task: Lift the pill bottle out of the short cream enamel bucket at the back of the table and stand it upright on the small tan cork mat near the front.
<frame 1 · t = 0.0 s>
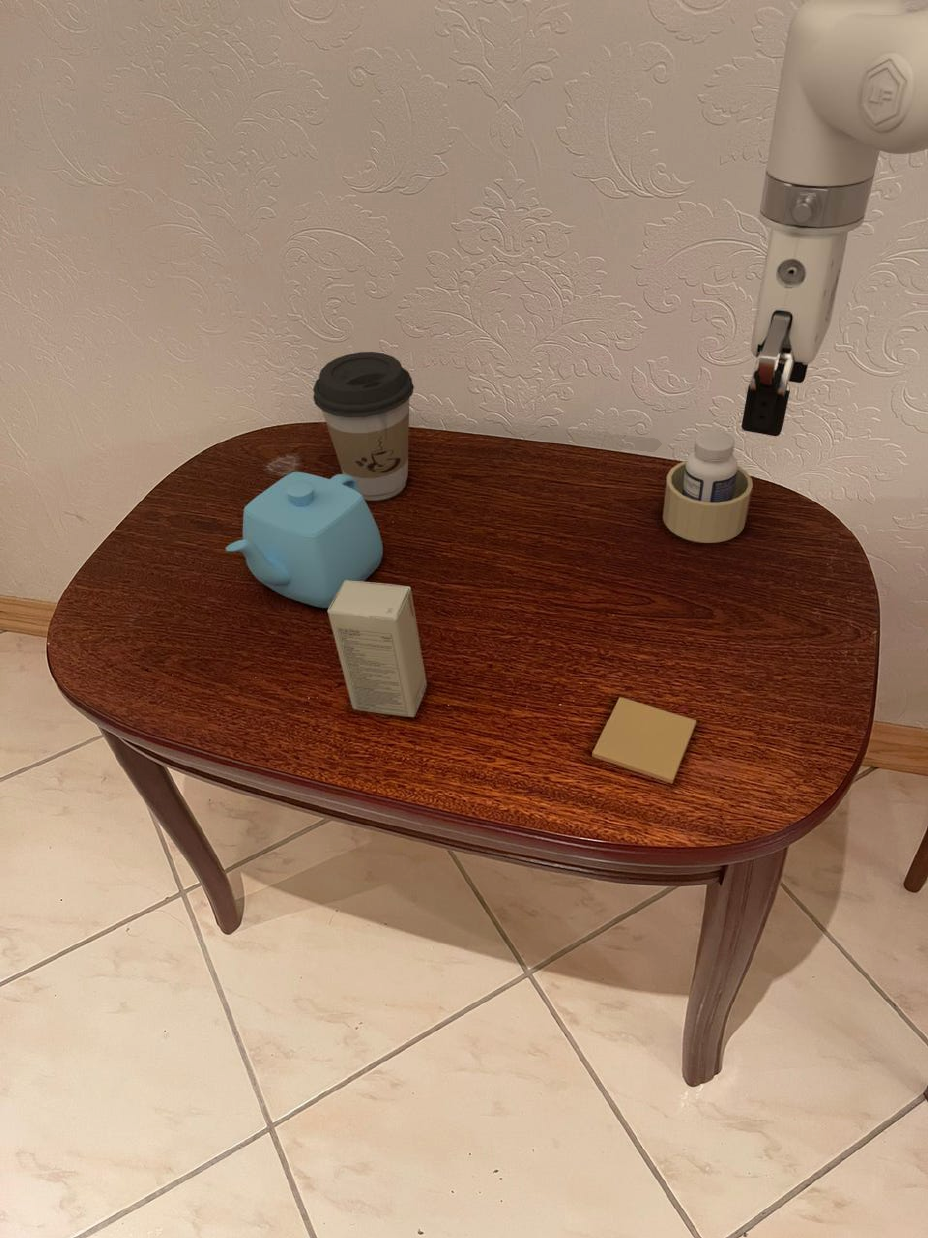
hand: (773, 404, 77), 20 cm above the table, tool pointing down, fingers open, 9 cm apart
pill bottle: (703, 517, 99), resting on bucket
bucket: (703, 518, 99), on the table
cosmetic box: (388, 698, 82), on the table
mat: (644, 740, 76), on the table
teapot: (311, 584, 95), on the table
coffee cup: (377, 485, 108), on the table
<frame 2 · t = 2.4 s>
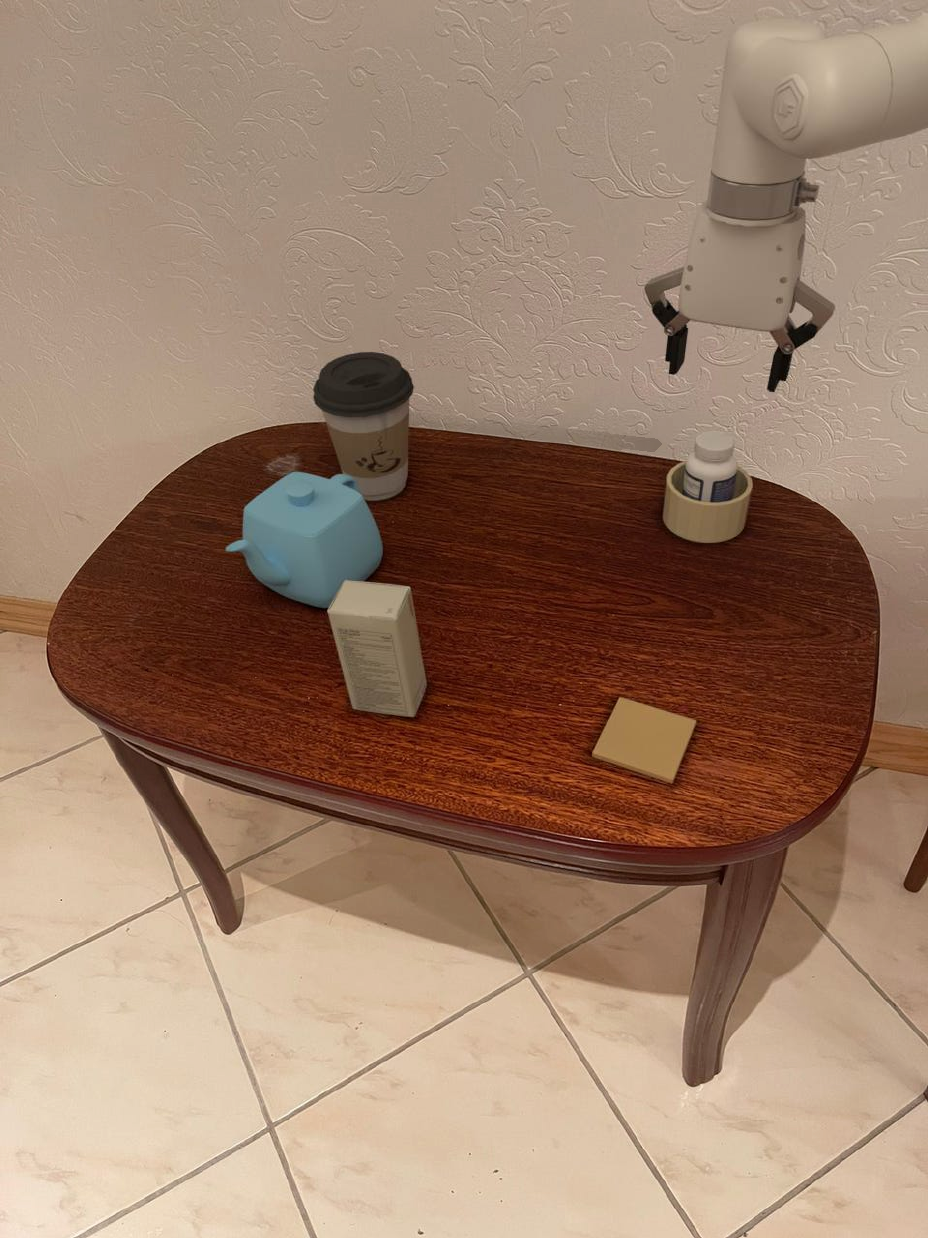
hand: (724, 376, 88), 17 cm above the table, tool pointing down, fingers open, 9 cm apart
nothing on the table moved.
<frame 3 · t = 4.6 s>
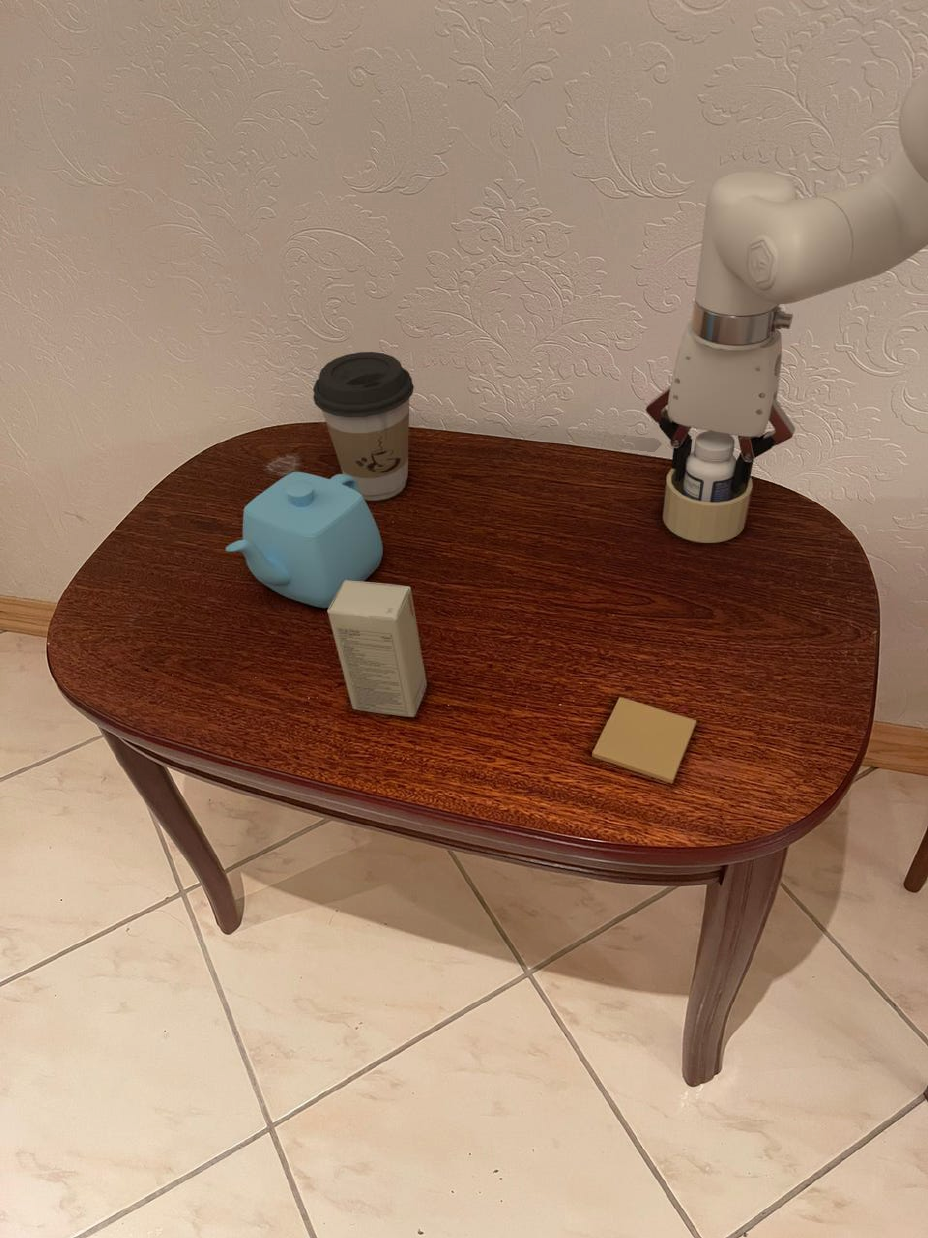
hand: (709, 479, 96), 5 cm above the table, tool pointing down, fingers closed on pill bottle, 5 cm apart
pill bottle: (703, 517, 99), resting on bucket, touching gripper
everything else where it was.
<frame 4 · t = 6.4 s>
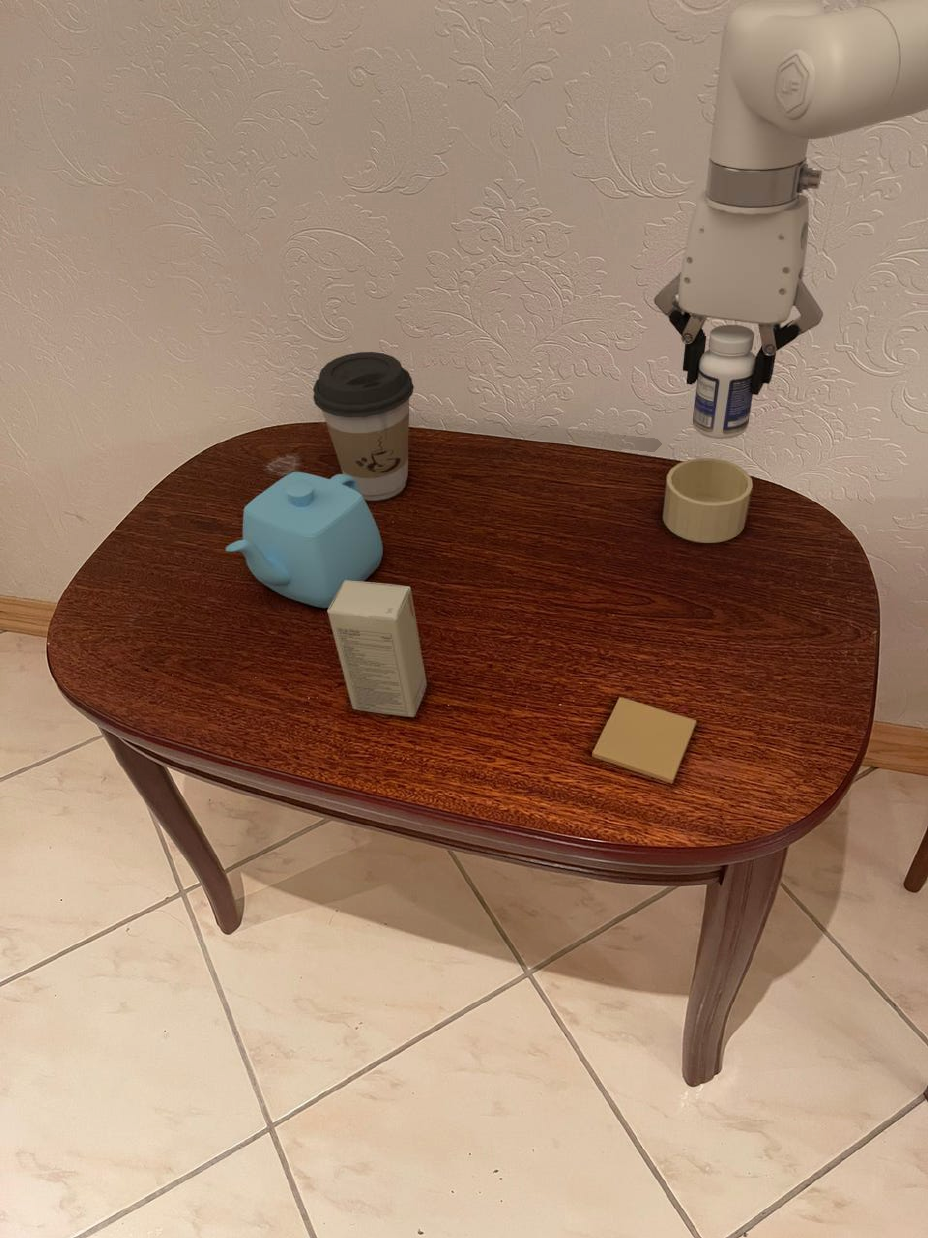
hand: (725, 381, 85), 18 cm above the table, tool pointing down, fingers closed on pill bottle, 5 cm apart
pill bottle: (719, 428, 89), point 13 cm above the table, touching gripper
everything else where it was.
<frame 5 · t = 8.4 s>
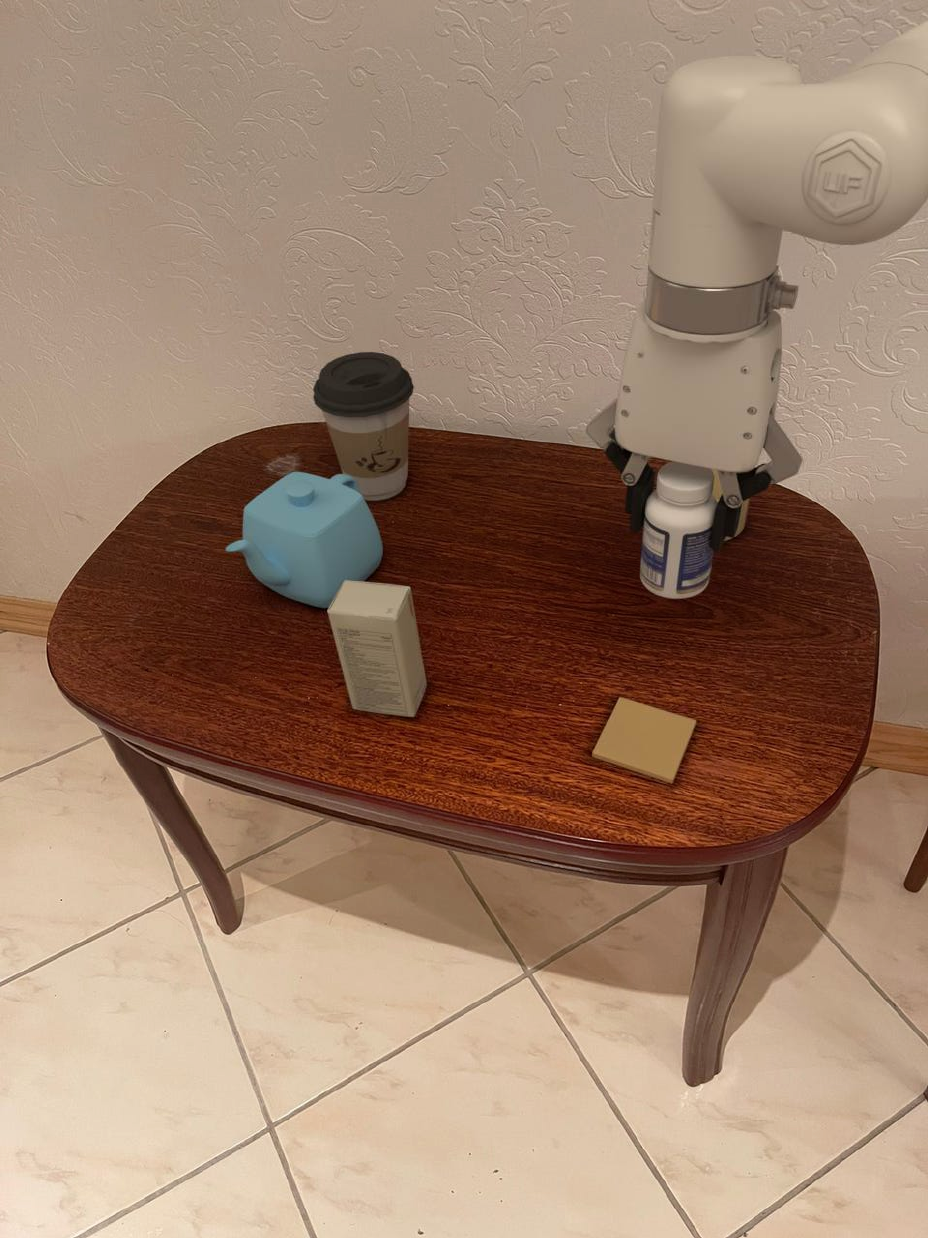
hand: (679, 529, 67), 19 cm above the table, tool pointing down, fingers closed on pill bottle, 5 cm apart
pill bottle: (673, 580, 70), point 14 cm above the table, touching gripper
everything else where it was.
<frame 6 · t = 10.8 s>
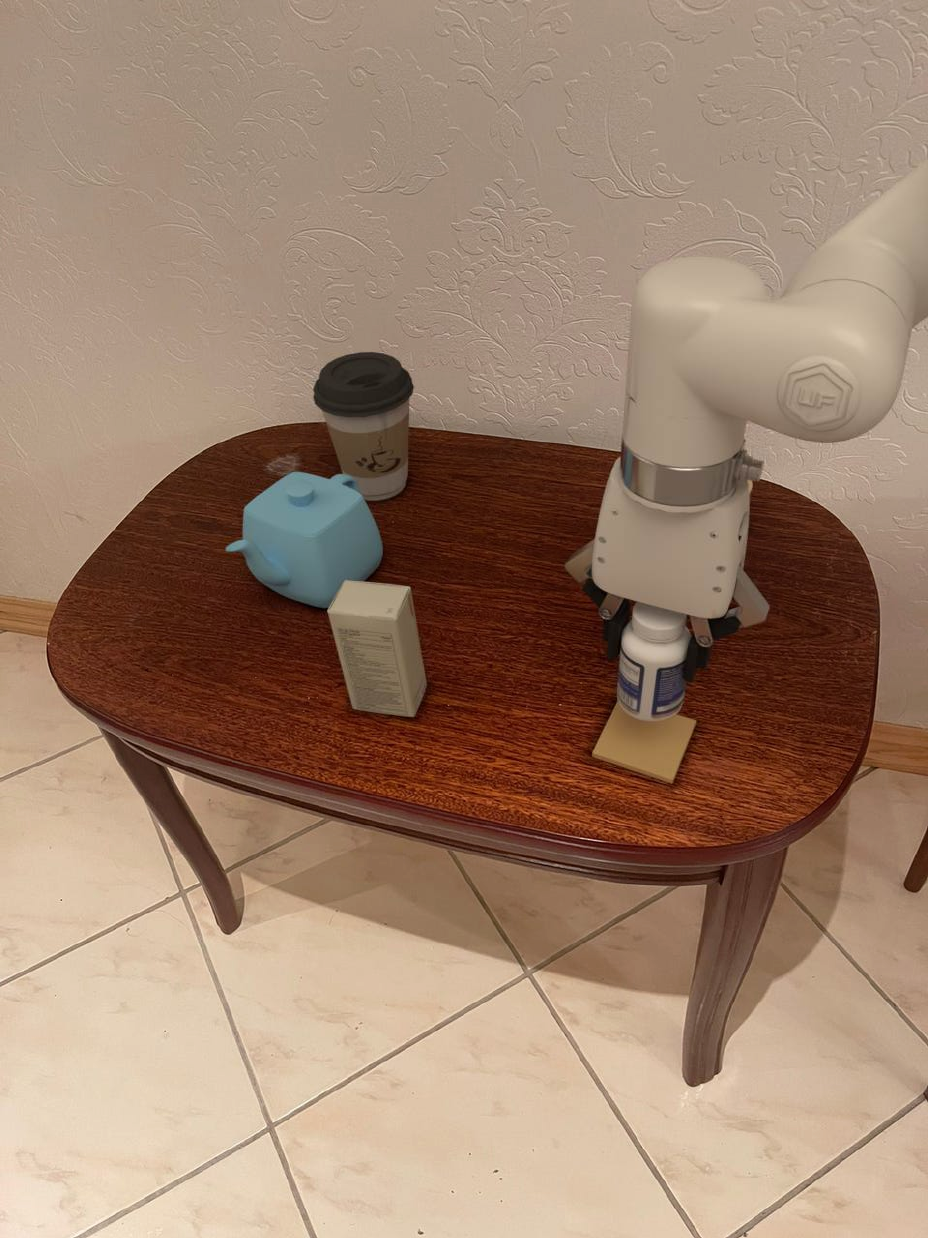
hand: (654, 657, 69), 10 cm above the table, tool pointing down, fingers closed on pill bottle, 5 cm apart
pill bottle: (649, 700, 73), point 5 cm above the table, touching gripper
everything else where it was.
when the fingers open (5 cm above the table, at t = 12.4 s): pill bottle stays where it is, resting on mat.
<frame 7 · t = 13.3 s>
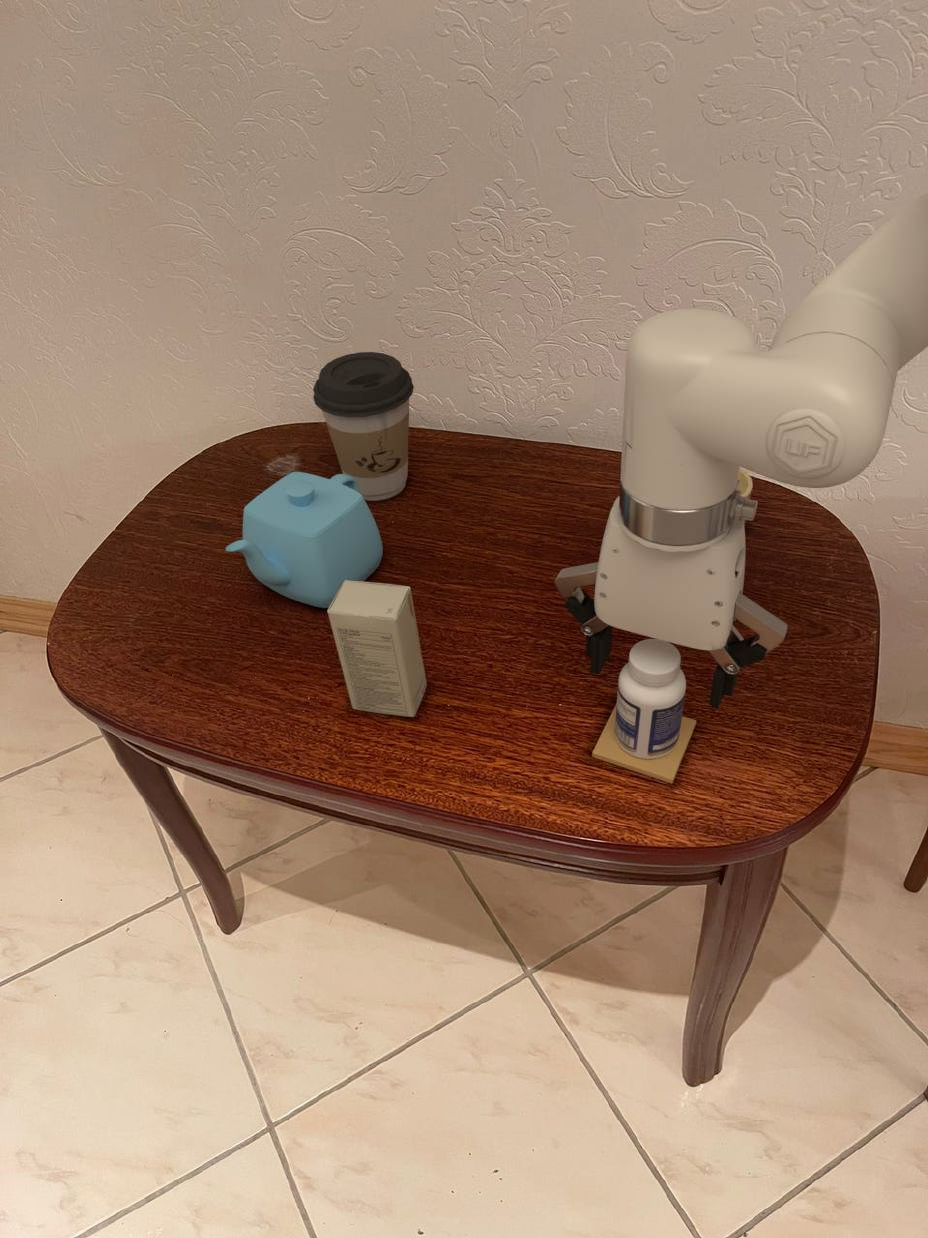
hand: (658, 679, 71), 8 cm above the table, tool pointing down, fingers open, 9 cm apart
pill bottle: (645, 738, 76), resting on mat
everything else where it was.
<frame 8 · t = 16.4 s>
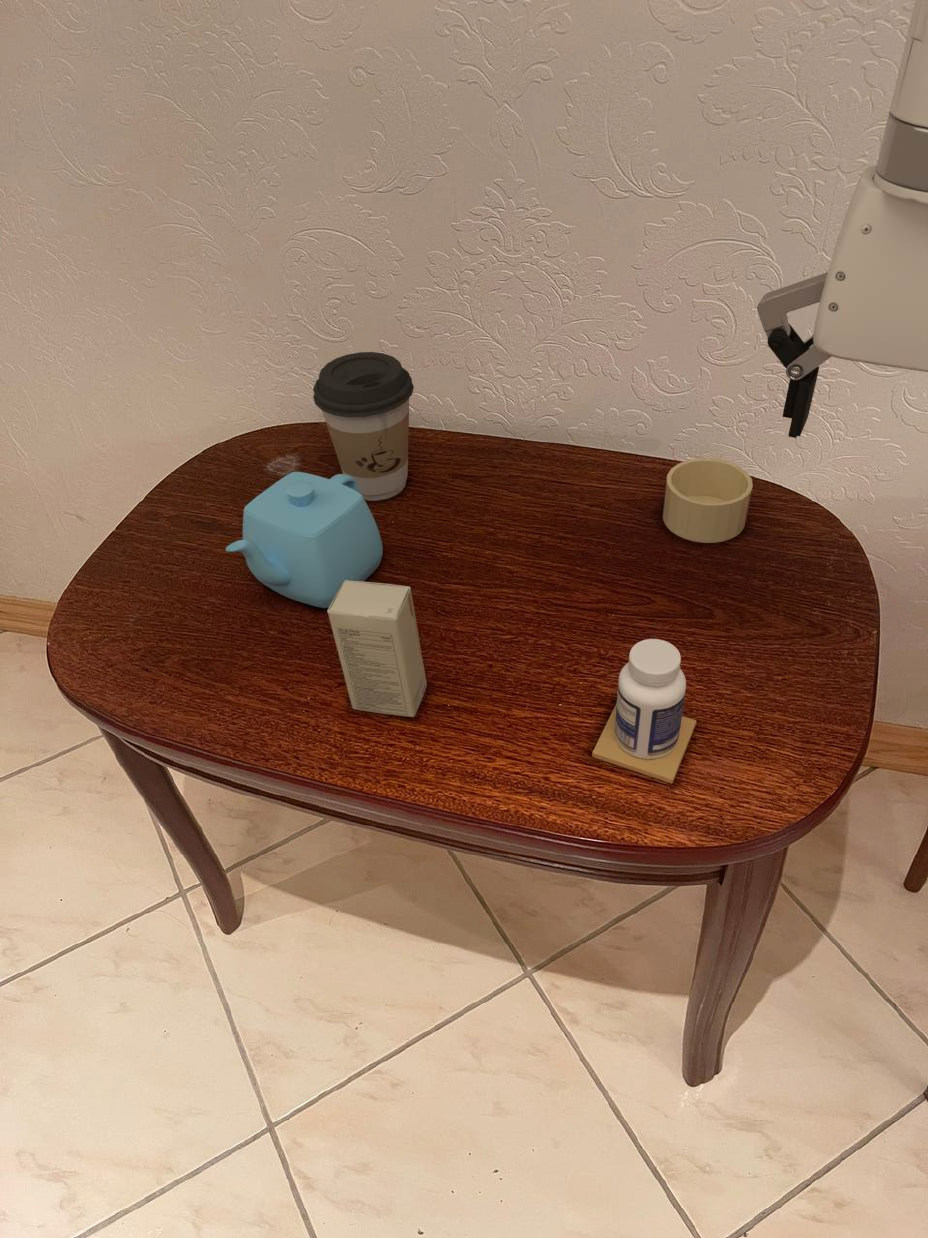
hand: (874, 441, 57), 28 cm above the table, tool pointing down, fingers open, 9 cm apart
nothing on the table moved.
at the end: pill bottle 0.1 cm off-centre on the mat, point 0.4 cm above the mat's base; pill bottle tilted 0°; pill bottle touching mat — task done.
